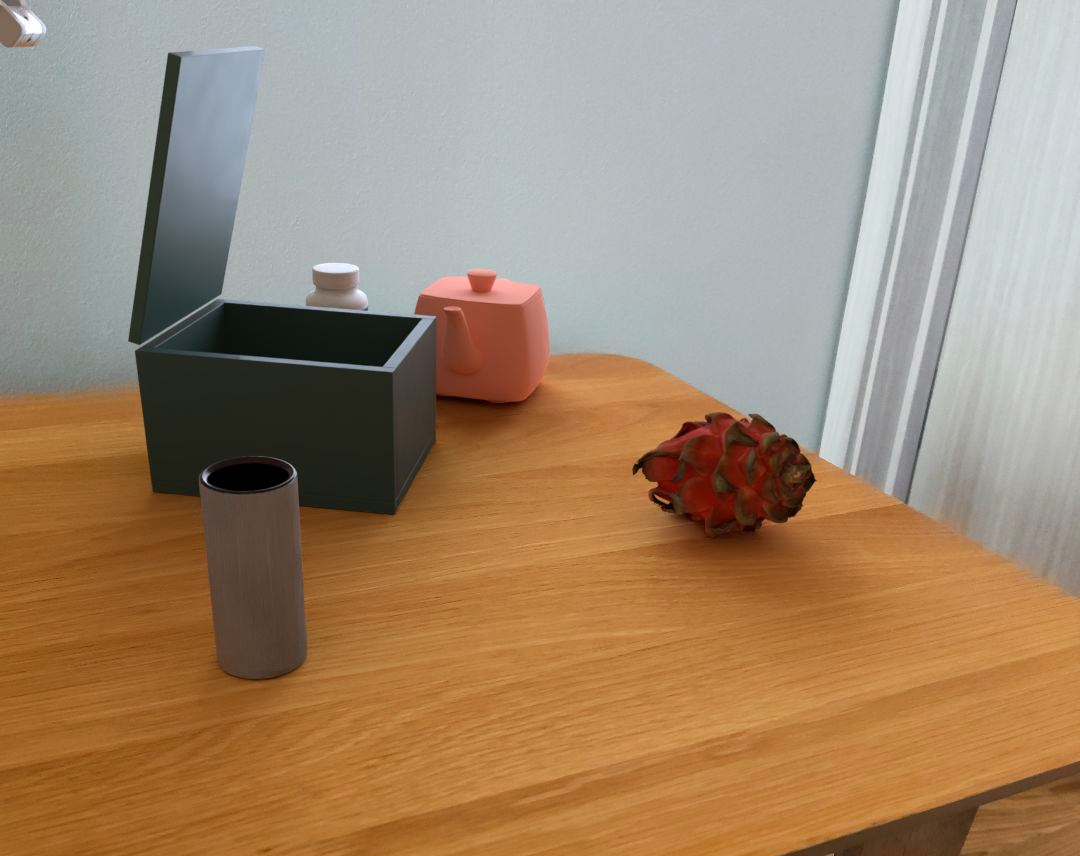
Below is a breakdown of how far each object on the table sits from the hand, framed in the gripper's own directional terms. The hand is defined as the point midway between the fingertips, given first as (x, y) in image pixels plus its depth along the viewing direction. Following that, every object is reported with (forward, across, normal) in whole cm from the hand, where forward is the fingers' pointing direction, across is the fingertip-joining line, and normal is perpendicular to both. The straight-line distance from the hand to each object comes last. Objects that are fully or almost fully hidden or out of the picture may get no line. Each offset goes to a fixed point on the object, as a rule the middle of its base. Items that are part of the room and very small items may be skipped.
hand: (29, 40), depth 67 cm
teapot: (+38, -19, -1) cm, 42 cm away
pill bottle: (+29, -20, -10) cm, 37 cm away
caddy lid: (+14, 0, +2) cm, 14 cm away
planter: (+35, +25, -4) cm, 43 cm away
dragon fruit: (+52, +4, +13) cm, 54 cm away
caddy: (+31, 0, -8) cm, 32 cm away
